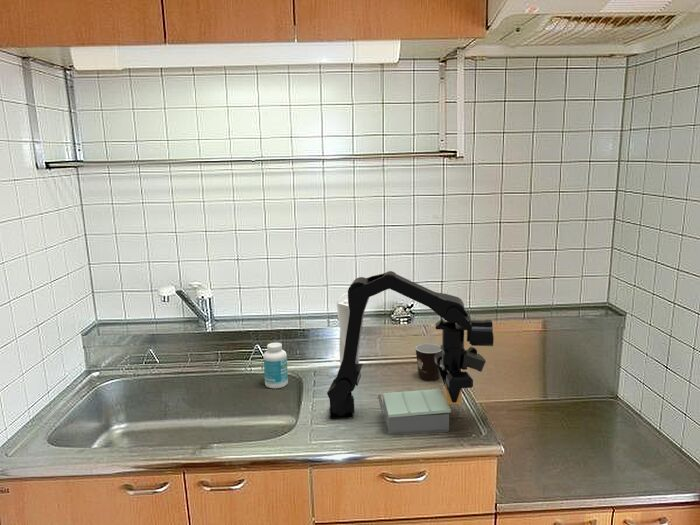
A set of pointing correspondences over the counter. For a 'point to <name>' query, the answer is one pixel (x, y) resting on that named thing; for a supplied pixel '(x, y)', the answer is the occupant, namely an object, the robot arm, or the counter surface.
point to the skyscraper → (343, 324)
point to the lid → (419, 402)
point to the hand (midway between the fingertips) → (452, 398)
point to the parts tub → (415, 422)
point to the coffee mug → (427, 361)
